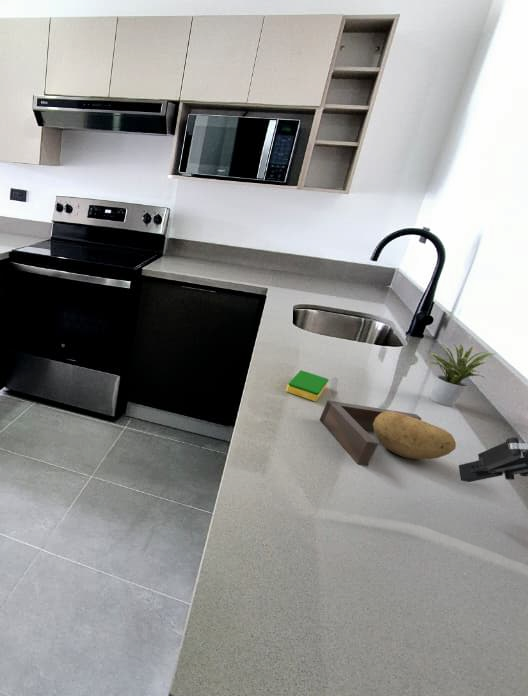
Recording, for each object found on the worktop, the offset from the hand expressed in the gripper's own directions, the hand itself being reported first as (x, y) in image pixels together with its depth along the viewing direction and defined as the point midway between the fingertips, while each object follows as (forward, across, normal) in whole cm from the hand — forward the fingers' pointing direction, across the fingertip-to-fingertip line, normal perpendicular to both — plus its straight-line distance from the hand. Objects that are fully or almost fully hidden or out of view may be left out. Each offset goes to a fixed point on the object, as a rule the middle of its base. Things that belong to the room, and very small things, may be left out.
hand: (464, 473), depth 86 cm
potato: (+15, 0, -7) cm, 16 cm away
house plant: (+41, -31, -32) cm, 60 cm away
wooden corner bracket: (+16, +3, -8) cm, 18 cm away
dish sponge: (+35, +9, -27) cm, 45 cm away
